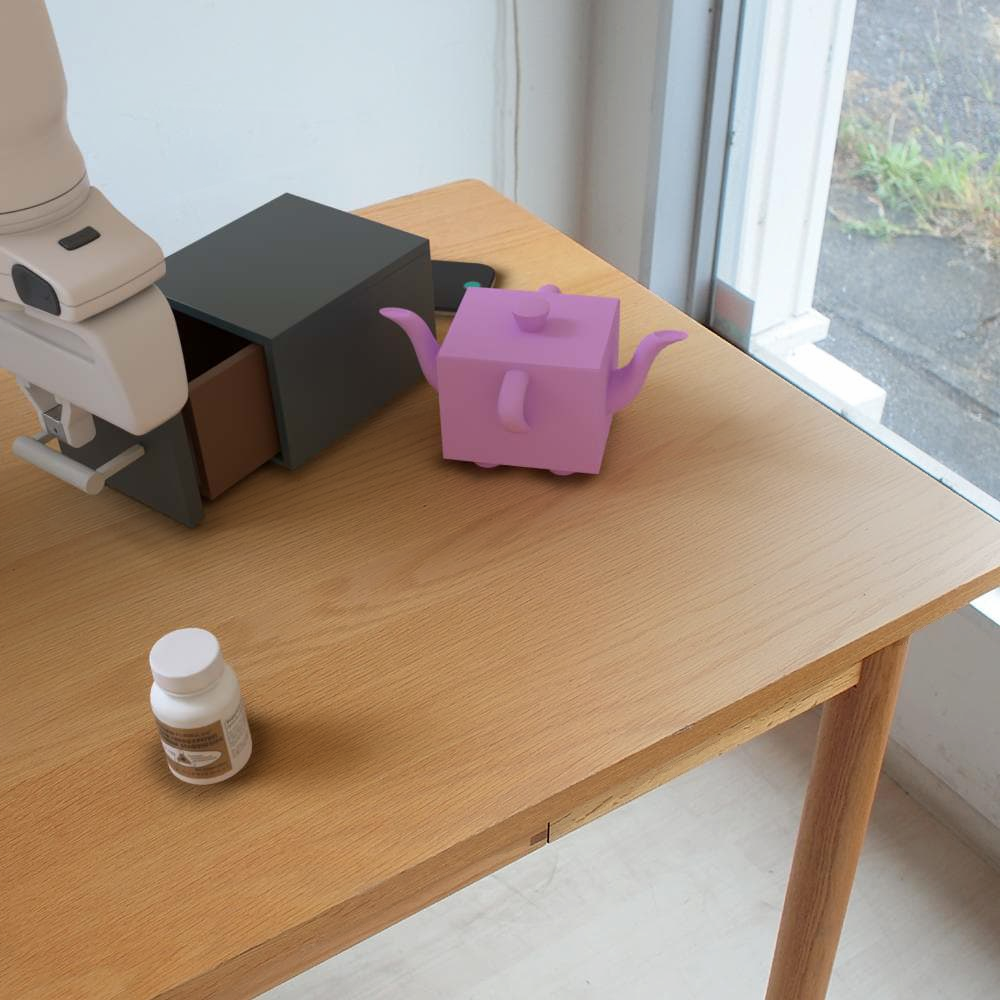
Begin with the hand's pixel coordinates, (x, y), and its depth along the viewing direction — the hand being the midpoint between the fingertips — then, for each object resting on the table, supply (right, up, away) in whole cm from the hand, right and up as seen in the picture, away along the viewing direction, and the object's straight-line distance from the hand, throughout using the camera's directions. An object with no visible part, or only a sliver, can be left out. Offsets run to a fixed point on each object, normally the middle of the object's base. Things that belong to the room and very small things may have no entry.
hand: (70, 435), depth 80 cm
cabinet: (+11, +4, +16) cm, 20 cm away
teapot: (+28, 0, +10) cm, 30 cm away
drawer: (+5, -1, +8) cm, 10 cm away
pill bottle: (+11, -17, -11) cm, 23 cm away
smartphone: (+18, +13, +27) cm, 35 cm away
